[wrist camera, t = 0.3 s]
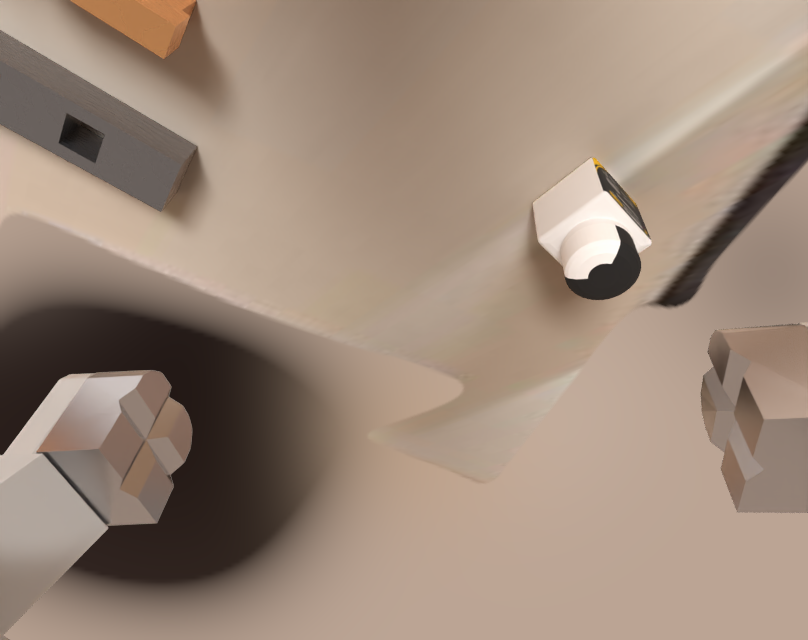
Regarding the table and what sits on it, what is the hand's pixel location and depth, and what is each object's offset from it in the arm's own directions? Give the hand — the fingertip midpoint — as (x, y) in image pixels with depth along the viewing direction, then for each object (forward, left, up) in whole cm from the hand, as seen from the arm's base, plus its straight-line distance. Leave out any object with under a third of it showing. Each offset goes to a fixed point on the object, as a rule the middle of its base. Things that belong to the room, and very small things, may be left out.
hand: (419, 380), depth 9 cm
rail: (+5, -39, -47) cm, 61 cm away
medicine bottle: (+24, +8, -47) cm, 54 cm away
